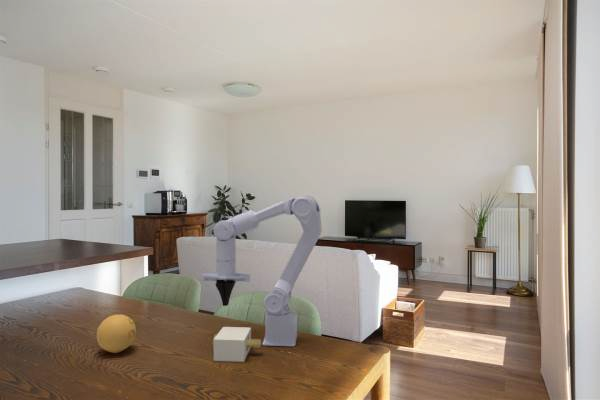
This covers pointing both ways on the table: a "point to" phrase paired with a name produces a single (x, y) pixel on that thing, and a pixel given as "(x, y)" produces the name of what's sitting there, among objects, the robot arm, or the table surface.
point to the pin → (249, 343)
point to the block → (231, 344)
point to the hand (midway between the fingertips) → (225, 304)
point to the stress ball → (116, 333)
